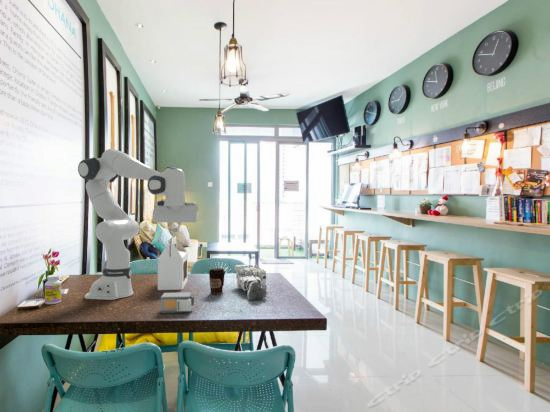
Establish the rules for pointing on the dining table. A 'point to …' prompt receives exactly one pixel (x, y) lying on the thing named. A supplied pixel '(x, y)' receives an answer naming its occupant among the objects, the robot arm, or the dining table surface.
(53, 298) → the supplement bottle
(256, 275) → the spaceship
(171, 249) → the gable box
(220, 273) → the coffee cup
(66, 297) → the dining table surface
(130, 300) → the dining table surface
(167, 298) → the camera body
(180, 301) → the side door
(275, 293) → the dining table surface
